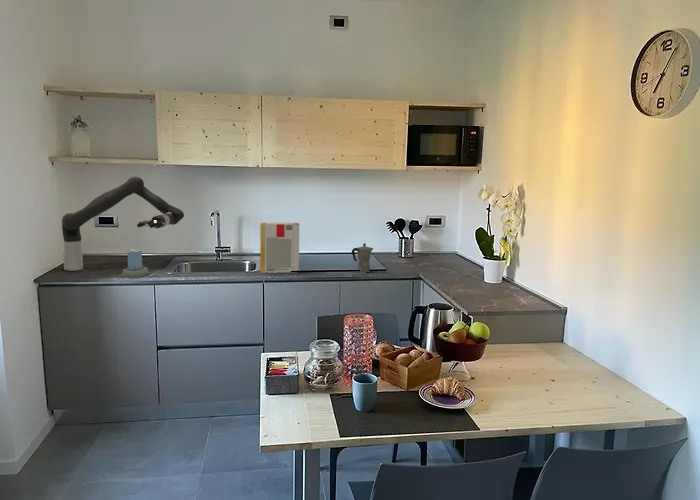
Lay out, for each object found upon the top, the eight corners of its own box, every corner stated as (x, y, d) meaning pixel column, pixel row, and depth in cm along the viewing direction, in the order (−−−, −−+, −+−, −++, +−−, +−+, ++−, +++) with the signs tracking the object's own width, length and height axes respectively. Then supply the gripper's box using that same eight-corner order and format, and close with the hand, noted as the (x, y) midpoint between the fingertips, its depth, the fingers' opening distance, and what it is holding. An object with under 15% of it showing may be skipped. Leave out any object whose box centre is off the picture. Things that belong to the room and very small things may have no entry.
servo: (126, 274, 307) (125, 250, 305) (136, 271, 316) (135, 247, 314) (134, 275, 306) (133, 250, 304) (144, 271, 315) (143, 248, 312)
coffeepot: (368, 269, 346) (369, 241, 343) (376, 272, 338) (377, 244, 335) (347, 271, 339) (348, 243, 335) (355, 274, 330) (356, 245, 327)
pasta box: (297, 270, 337) (298, 222, 331) (298, 273, 329) (299, 224, 323) (260, 270, 333) (260, 222, 327) (260, 273, 325) (260, 224, 319)
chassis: (120, 276, 307) (120, 270, 306) (133, 272, 318) (133, 266, 318) (137, 278, 304) (137, 271, 304) (150, 273, 316) (149, 267, 315)
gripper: (149, 214, 333) (132, 219, 318) (170, 215, 329) (154, 219, 314) (151, 226, 335) (134, 231, 319) (171, 227, 331) (155, 232, 316)
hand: (144, 225), depth 317 cm, fingers open, 8 cm apart
